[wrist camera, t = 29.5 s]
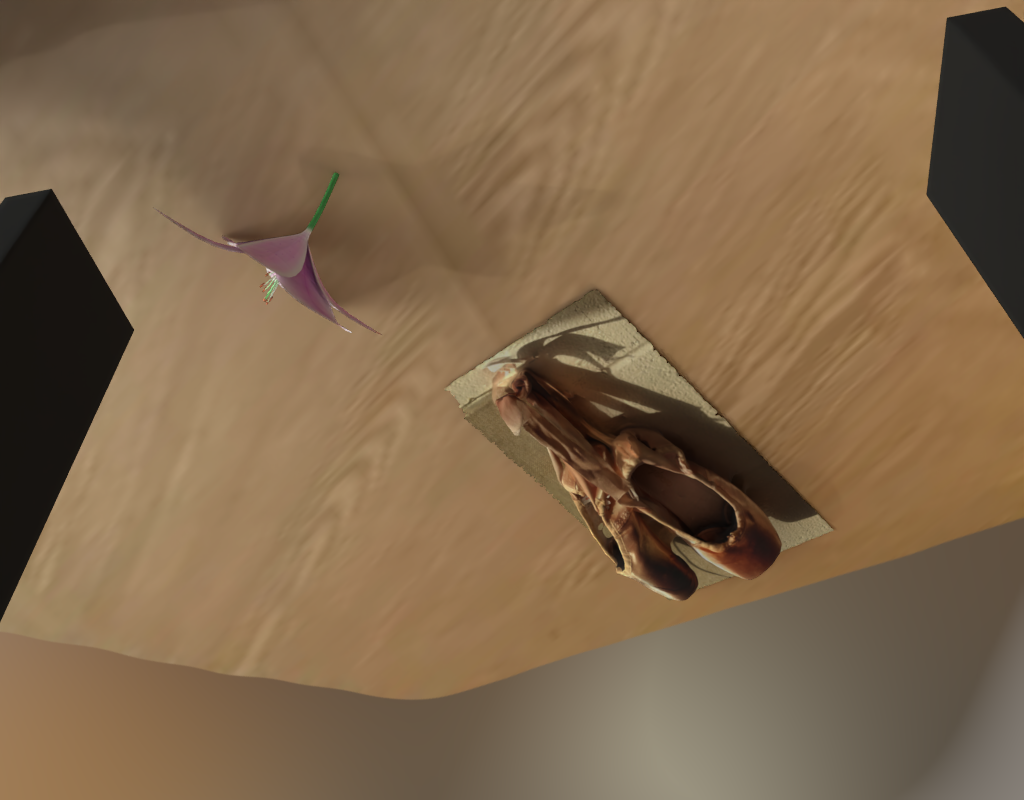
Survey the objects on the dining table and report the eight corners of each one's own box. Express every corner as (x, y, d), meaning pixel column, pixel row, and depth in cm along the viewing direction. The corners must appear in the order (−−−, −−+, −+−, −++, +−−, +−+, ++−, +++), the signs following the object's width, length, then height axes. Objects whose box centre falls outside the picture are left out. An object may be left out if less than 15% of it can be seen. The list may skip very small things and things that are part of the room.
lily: (171, 120, 50) (96, 271, 47) (339, 88, 44) (268, 259, 41) (309, 249, 60) (255, 384, 56) (464, 238, 54) (415, 388, 50)
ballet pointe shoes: (690, 674, 69) (416, 468, 56) (682, 600, 74) (428, 396, 61) (859, 602, 63) (593, 352, 50) (837, 527, 68) (591, 281, 55)
